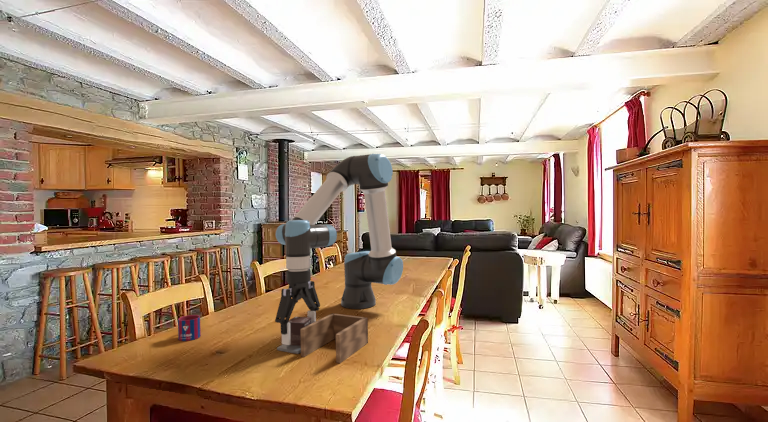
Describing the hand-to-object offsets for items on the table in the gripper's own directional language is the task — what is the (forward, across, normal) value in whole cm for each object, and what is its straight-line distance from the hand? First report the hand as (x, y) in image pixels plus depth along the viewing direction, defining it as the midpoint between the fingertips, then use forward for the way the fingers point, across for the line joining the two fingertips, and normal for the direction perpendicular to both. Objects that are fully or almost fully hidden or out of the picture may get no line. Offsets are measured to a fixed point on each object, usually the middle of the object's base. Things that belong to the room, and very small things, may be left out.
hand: (299, 337), depth 121 cm
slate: (+3, 0, 0) cm, 3 cm away
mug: (+3, +7, -40) cm, 41 cm away
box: (+2, 0, 0) cm, 2 cm away
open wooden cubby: (+3, -1, +12) cm, 13 cm away
